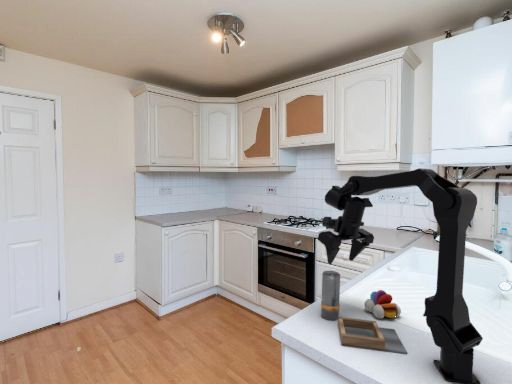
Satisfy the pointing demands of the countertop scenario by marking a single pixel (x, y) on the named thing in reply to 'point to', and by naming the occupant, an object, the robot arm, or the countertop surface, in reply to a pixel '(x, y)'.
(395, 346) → the picture frame
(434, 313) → the robot arm
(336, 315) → the grey metal cylinder
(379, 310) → the multicolored petal flower
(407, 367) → the countertop surface
